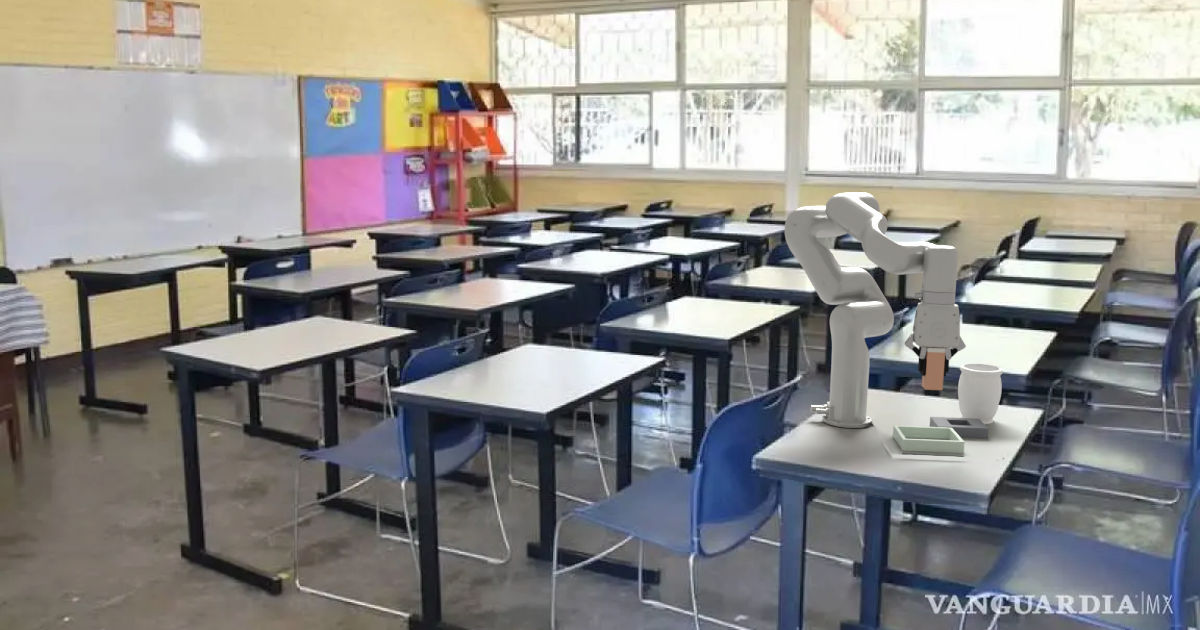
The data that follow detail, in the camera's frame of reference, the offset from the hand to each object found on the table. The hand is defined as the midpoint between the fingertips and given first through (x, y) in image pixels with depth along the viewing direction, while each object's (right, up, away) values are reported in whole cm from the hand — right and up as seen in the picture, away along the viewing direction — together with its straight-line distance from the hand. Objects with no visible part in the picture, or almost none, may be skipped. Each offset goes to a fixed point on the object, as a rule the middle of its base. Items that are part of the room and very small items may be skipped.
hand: (932, 374), depth 244 cm
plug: (0, -3, +1) cm, 3 cm away
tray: (0, -18, +3) cm, 18 cm away
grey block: (+11, -16, +14) cm, 24 cm away
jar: (+20, -15, +26) cm, 36 cm away
